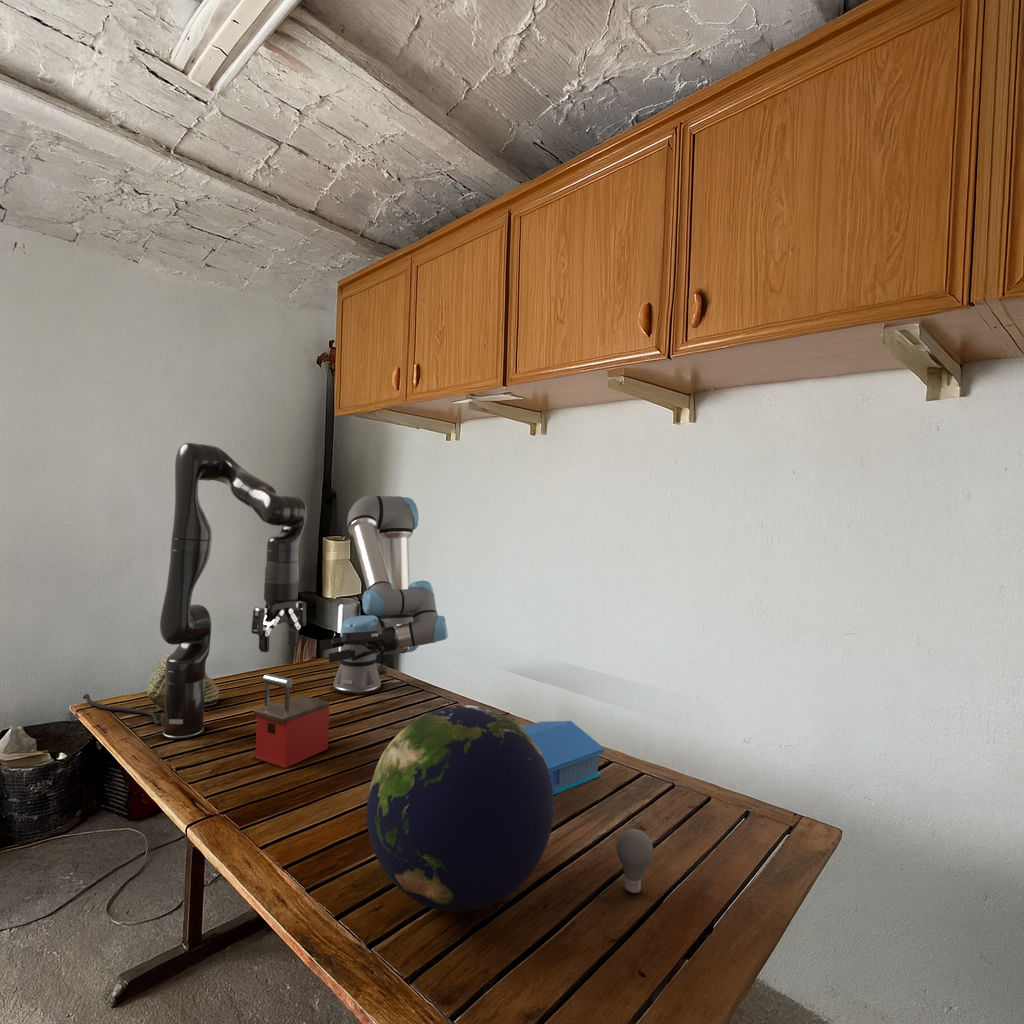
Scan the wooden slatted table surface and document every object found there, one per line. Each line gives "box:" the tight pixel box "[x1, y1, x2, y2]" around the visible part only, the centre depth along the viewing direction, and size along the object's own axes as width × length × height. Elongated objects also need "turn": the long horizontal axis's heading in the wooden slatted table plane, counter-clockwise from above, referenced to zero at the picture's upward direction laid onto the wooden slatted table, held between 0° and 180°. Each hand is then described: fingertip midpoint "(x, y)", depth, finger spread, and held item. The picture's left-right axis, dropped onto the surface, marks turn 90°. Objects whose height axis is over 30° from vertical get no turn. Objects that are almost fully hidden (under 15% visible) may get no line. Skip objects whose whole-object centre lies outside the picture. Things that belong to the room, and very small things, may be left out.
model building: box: [520, 720, 605, 796], centre depth 143 cm, size 39×24×10 cm, turn 132°
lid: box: [253, 673, 330, 723], centre depth 154 cm, size 15×10×10 cm
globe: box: [366, 704, 555, 913], centre depth 102 cm, size 30×30×30 cm
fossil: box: [147, 654, 221, 712], centre depth 185 cm, size 9×18×15 cm, turn 132°
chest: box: [255, 706, 330, 769], centre depth 155 cm, size 14×10×11 cm
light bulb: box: [615, 828, 654, 894], centre depth 106 cm, size 6×6×10 cm
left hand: (279, 648), depth 150 cm, fingers open, 8 cm apart
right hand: (324, 652), depth 188 cm, fingers open, 13 cm apart
